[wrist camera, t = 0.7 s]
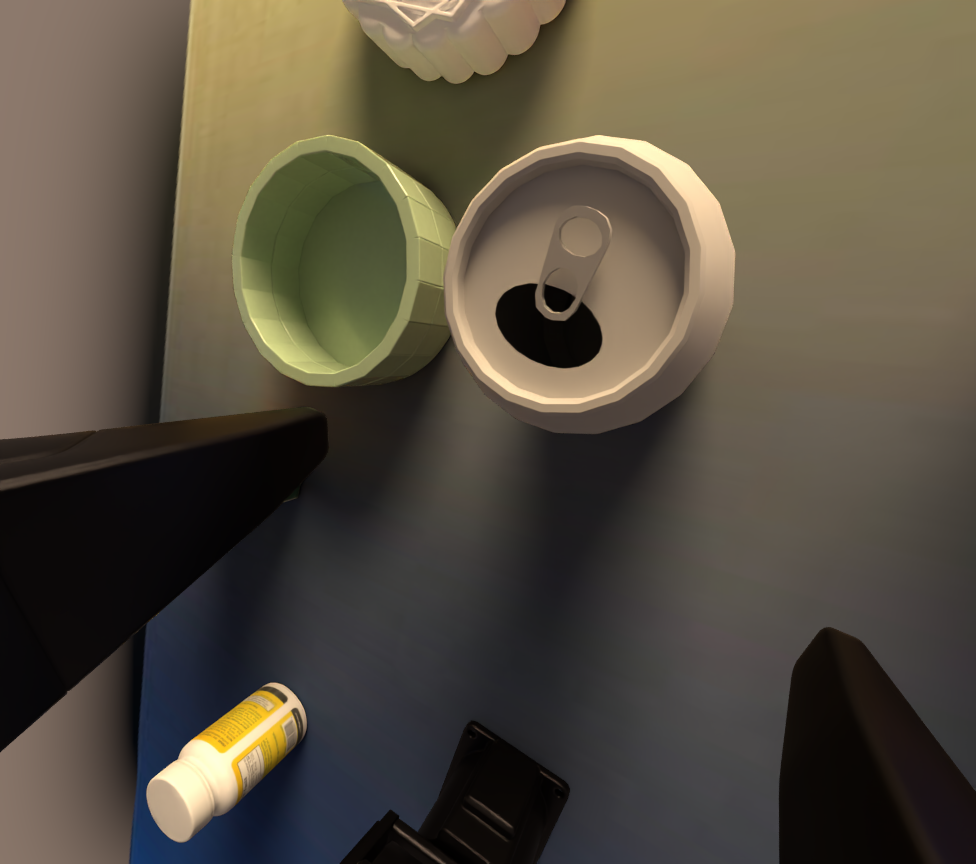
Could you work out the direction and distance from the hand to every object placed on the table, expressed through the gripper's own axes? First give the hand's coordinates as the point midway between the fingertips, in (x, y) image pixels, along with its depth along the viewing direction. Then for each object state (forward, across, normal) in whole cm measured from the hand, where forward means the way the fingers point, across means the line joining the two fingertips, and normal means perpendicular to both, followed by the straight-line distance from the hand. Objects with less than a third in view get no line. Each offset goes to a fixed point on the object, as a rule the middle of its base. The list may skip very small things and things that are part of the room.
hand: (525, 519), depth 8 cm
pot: (+16, +16, +2) cm, 22 cm away
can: (+16, +2, +1) cm, 16 cm away
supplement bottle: (+6, +16, +32) cm, 36 cm away
